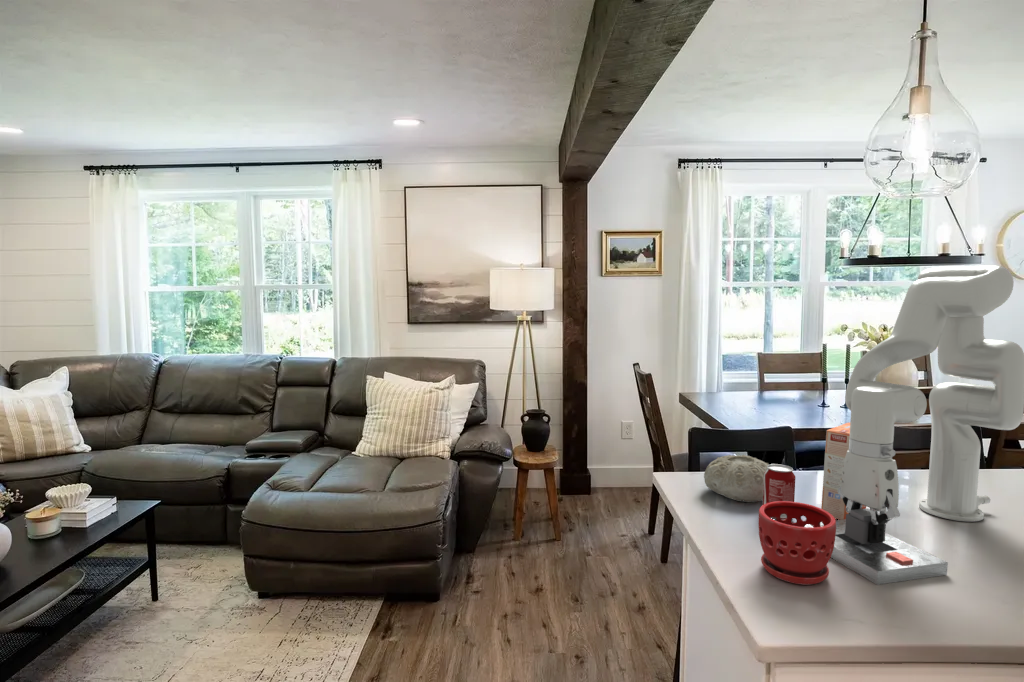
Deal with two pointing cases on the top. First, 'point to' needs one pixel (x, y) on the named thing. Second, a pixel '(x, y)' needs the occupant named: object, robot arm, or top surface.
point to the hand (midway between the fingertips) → (864, 536)
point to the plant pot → (796, 541)
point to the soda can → (778, 485)
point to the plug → (859, 525)
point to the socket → (885, 558)
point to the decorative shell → (736, 477)
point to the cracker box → (835, 470)
